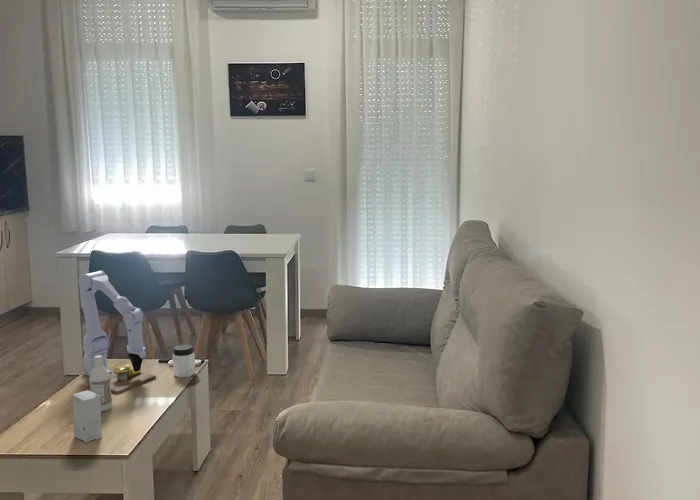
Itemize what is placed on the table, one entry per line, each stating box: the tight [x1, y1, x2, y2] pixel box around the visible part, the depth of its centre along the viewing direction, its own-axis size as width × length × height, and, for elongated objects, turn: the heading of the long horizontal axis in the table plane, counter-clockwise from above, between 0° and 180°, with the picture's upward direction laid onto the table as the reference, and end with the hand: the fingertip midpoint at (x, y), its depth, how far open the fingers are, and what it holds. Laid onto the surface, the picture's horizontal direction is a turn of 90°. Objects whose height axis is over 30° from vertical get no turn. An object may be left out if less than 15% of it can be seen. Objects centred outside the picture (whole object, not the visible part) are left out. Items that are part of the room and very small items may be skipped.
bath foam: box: [89, 355, 113, 413], centre depth 241 cm, size 7×7×20 cm
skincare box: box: [72, 389, 103, 443], centre depth 217 cm, size 8×6×15 cm
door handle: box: [113, 364, 142, 377], centre depth 272 cm, size 13×6×5 cm, turn 158°
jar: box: [172, 343, 196, 379], centre depth 277 cm, size 9×8×12 cm
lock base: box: [87, 371, 157, 395], centre depth 269 cm, size 17×20×4 cm
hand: (137, 370), depth 271 cm, fingers closed
